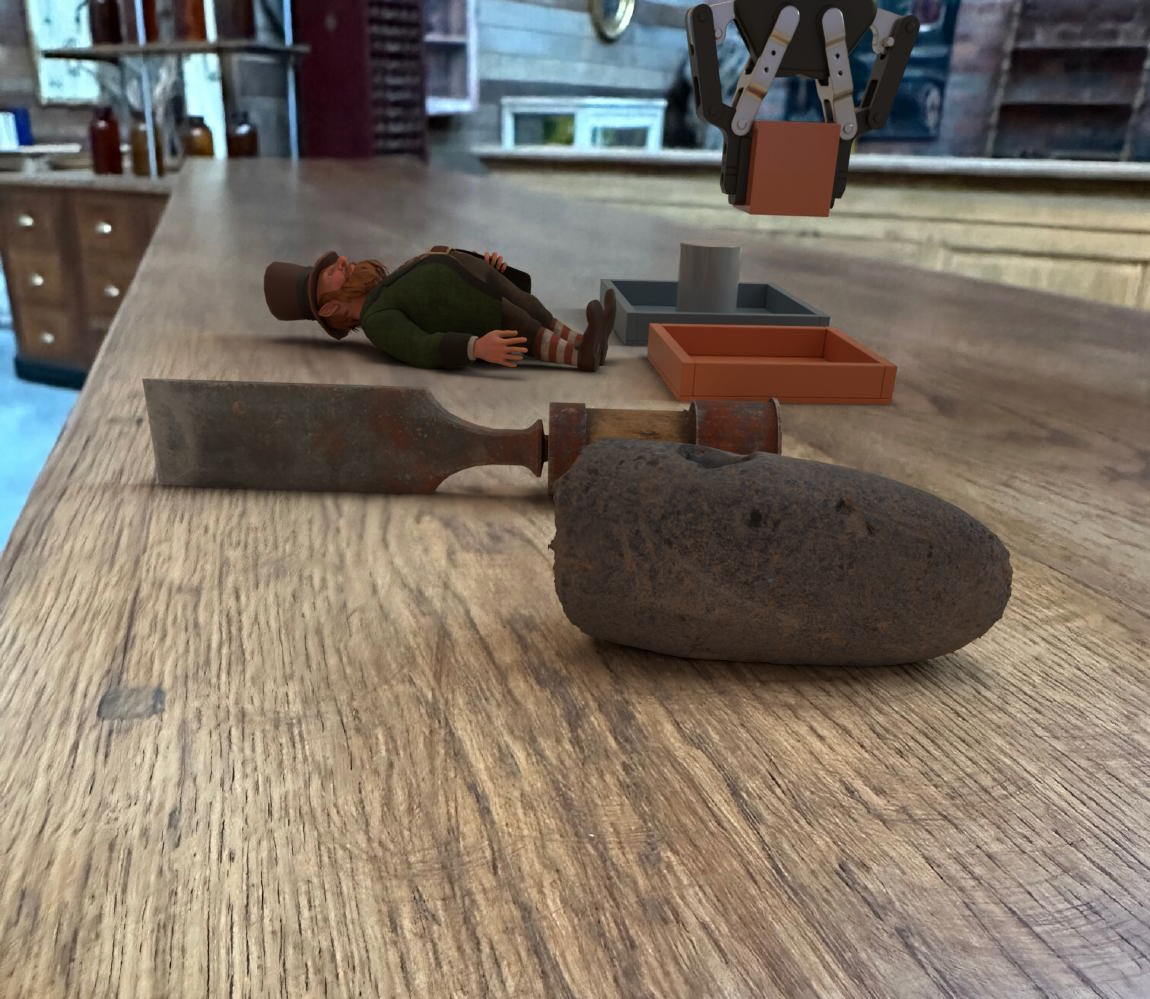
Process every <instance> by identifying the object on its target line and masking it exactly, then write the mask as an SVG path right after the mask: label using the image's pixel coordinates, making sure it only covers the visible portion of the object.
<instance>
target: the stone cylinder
mask: <svg viewBox="0 0 1150 999" xmlns="http://www.w3.org/2000/svg"><path fill="white" fill-rule="evenodd" d="M742 255H743V243H741V242H738V241H731V240H723V239H705V238H692V239H683V240H681V241H679V252H678V264H677V266H678V267H677V279H676V281H677V292H676V305H675V312H709V313H736V308H737V298H738V288H739V282H740V278H741V277H740V276H741V269H742V268H741V266H742Z"/></svg>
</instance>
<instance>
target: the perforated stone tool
mask: <svg viewBox="0 0 1150 999" xmlns="http://www.w3.org/2000/svg"><path fill="white" fill-rule="evenodd" d="M552 491H553V493H554V494H552V495H553V497H552V501H553V502H554V507H555V509H554V526H555V529H556V530H555V535H554V536H553V539H551V540H550V543H548V544H547V551H549V550H551V551H553V555H554V556H553V559H554V562H553V565H552V570H553V575H554V576H553V577H554V579H553V584H554V592H555V594H556V596H557V598H558V601H559V603H560V604H561V606H562V608H561V609H562V611H563V614H564V615H565V617H566V618H567V619H568V621H569V622H570V624H571V625H572V626H574V627H576V628H577V629H579V631H580V633H583V634H584V635H586V636H589V637H590V638H594V639H598V640H603V641H607V642H610V643H615V644H617V645H618V644H619V645H623V646H627V647H632V648H636V649H641V650H645V651H649V652H650V651H651V652H654V653H657V654H660V655H667V656H675V657H679V658H686V659H697V660H707V661H716V660H717V661H720V660H722V661H729V662H736V663H738V662H739V663H769V664H771V665H791V666H792V665H795V666H796V665H797V666H800V665H801V666H803V665H814V666H823V667H824V666H826V667H827V666H828V667H839V666H841V667H879V666H894V665H903V664H911V663H919V662H923V661H927V660H930V659H931V660H932V659H935V658H940V657H943V656H946V655H949V654H952V653H954V652H956V651H958V650H960V649H963V648H964V647H966V646H968V645H969V644H971V643H972V642H974V641H976V640H977V639H982V637H983V636H984V635H986V634H987V633H988V632H989V630H991V629H992V628H993V627H994V625H995V624H996V623H997V622H999V621H1000V620H1002V619H1003V615H1004V613H1005V612H1004V611H1005V610H1006V608H1007V606H1008V603H1009V601H1010V598H1011V597H1012V591H1013V588H1012V586H1011V585H1012V584H1013V574H1014V569H1013V566H1012V565H1011V562H1010V558H1011V552H1010V550H1009V549H1008V548H1006V546H1005V544H1004V542H1002V540H1001V539H1000V538H999V536H998V535H997V534H996V533H994V532H993V531H991V530H990V529H989V528H988V527H987V526H986V525H984V524H983V523H982V522H981V521H980V520H978V519H976V518H975V517H974V516H973V515H971V514H970V513H968V512H967V511H965V510H964V509H962V508H960V507H959V506H957V505H955V504H953V503H951V502H949V501H947V500H945V499H943V498H942V497H939V496H937V495H935V494H933V493H931V492H928V491H926V490H924V489H921V488H918V487H915V486H913V485H909V484H908V483H904V482H901V481H899V480H896V479H893V478H889V477H886V476H882V475H879V474H876V473H872V472H869V471H866V470H865V471H864V470H860V469H856V468H854V467H849V466H844V465H840V464H833V463H829V462H828V463H827V462H823V461H818V460H812V459H806V458H799V457H793V456H787V455H784V454H783V455H782V454H781V455H779V454H773V453H767V452H761V451H755V452H753V453H752V454H749V455H739V454H736V453H732V452H727V451H722V450H719V449H715V448H711V447H707V446H699V445H693V444H684V443H676V442H673V441H670V442H669V441H652V440H640V439H632V438H615V437H603V438H601V439H599V440H597V441H595V442H594V443H593V444H590V445H587V446H585V447H584V448H583V450H582V451H581V452H580V454H579V455H578V458H577V460H576V461H575V462H574V463H573V464H572V465H571V467H570V469H569V470H568V471H567V472H566V473H565V474H564V475H562V476H561V477H560V478H559V479H557V480H555V483H554V485H553V490H552Z"/></svg>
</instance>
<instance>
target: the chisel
mask: <svg viewBox="0 0 1150 999" xmlns="http://www.w3.org/2000/svg"><path fill="white" fill-rule="evenodd" d="M141 379H142V385H143V393H144V398H145V405H146V411H147V418H148V424H149V431H150V438H151V442H152V449H153V455H154V456H153V457H154V462H155V468H156V474H157V481H158V484H160V485H166V486H177V487H189V488H190V487H192V488H212V489H213V488H214V489H245V490H246V489H249V490H250V489H251V490H285V491H286V490H287V491H314V492H315V491H316V492H321V491H322V492H348V493H349V492H352V493H353V492H354V493H356V492H357V493H383V494H386V493H387V494H388V493H390V494H416V495H417V494H420V495H432V494H434V493H435V492H436V490H438V487H439V486H440V485H441V484H442V483H443V482H444V481H445V480H447V479H448V478H449V477H451V476H453V475H455V474H457V473H459V472H461V471H464V470H467V469H471V468H474V467H483V466H517V467H518V466H519V467H524V468H526V469H528V470H529V471H531V473H532V474H533V475H534V476H535V477H536V478H542V474H543V469H544V464H545V463H547V494H546V495H548V494H549V495H554V493H553V491H552V490H553V485H554V483H555V480H557V479H559V478H560V477H561V476H562V475H564V474H565V473H566V472H567V471H568V470H569V469H570V467H571V465H572V464H573V463H574V462H575V461H576V460H577V458H578V455H579V454H580V452H581V451H582V450H583V448H584V447H585V446H587V445H590V444H593V443H594V442H595V441H597V440H599V439H601V438H603V437H615V438H632V439H640V440H652V441H669V442H670V441H673V442H676V443H684V444H693V445H699V446H707V447H711V448H715V449H719V450H722V451H727V452H732V453H736V454H739V455H749V454H752V453H753V452H755V451H761V452H767V453H773V454H779V455H782V452H783V451H782V450H783V448H782V447H783V420H782V418H783V417H782V411H781V410H782V408H781V405H780V403H779V402H778V399H776V398H770V399H769V400H768V401H767V402H754V401H722V400H692V401H691V402H690V403H689V408H688V409H685V408H684V409H683V410H667V409H665V410H660V409H634V408H633V409H631V408H630V409H629V408H596V407H586V403H585V402H557V401H549V402H548V403H549V405H548V434H545V429H544V422H543V419H542V418H537V420H536V421H535V422H533V423H532V425H530V426H529V427H526V428H523V429H516V428H493V427H489V426H485V425H481V424H477V423H474V422H471V421H469V420H466V419H464V418H461V417H460V416H457V415H455V414H454V413H452V412H450V411H449V410H448V409H446V408H445V407H444V406H442V404H441V403H440V402H439V401H438V400H437V398H436V397H435V396H434V394H433V393H432V391H431V390H430V389H429V387H427V386H411V385H410V386H408V385H374V384H346V383H345V384H344V383H343V384H342V383H315V382H314V383H313V382H312V383H311V382H279V381H252V380H251V381H249V380H248V381H247V380H217V379H215V380H214V379H188V378H187V379H183V378H182V379H181V378H151V377H150V378H141Z"/></svg>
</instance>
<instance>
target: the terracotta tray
mask: <svg viewBox="0 0 1150 999" xmlns="http://www.w3.org/2000/svg"><path fill="white" fill-rule="evenodd" d="M646 358H647V359H648V361H649V362H650V363H651V365H652V366H653V367H654V369H655V371H656V372H657V373H658V375H659V376H660V378H662V380H663V381H664V383H665V384H666V385H667V387H668V388H669V389H670V391H671V392H672V394H673V395H674V397H675V398H676V400H678V402H679V403H681V402H682V403H691V401H692V400H722V401H754V402H767V401H768V400H769V399H770V398H776V399H778V402H779V404H820V405H821V404H825V405H827V404H830V405H834V404H836V405H892V403H893V402H892V401H893V396H894V395H893V394H894V389H895V384H896V378H897V372H898V365H896V364H895V363H893V362H891V361H890V360H888V359H887V358H885V357H883V356H882V355H881V354H879V353H877V352H876V351H874V350H872V349H871V348H869V347H867V346H866V345H864V344H863V343H861V342H860V341H858V340H857V339H854V338H853V337H851V336H850V335H848V334H846V333H845V332H843V331H841V330H840V329H839V328H837V327H835V326H829V327H811V326H760V325H708V324H659V323H650V324H649V337H648V346H647V355H646Z"/></svg>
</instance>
